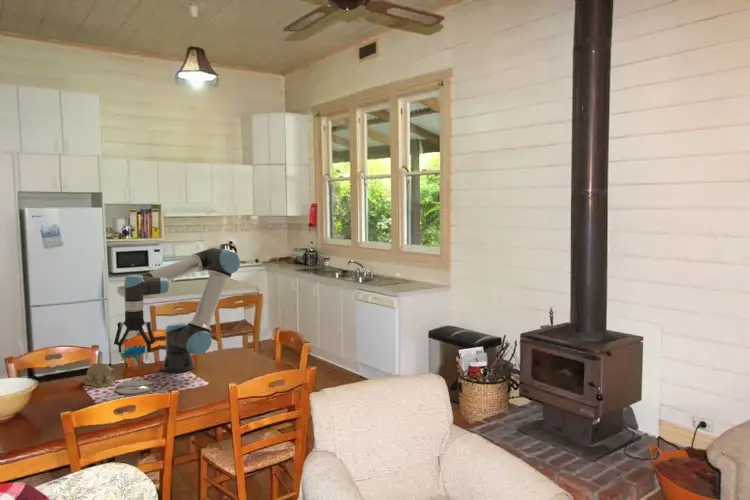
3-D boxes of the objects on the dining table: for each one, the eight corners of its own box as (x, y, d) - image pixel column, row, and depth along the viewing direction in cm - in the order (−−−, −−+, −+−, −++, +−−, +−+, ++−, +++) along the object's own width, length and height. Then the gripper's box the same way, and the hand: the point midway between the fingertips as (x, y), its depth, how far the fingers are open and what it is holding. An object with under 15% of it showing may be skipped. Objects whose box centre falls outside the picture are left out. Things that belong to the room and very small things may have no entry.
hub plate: (120, 383, 257) (120, 381, 257) (157, 382, 260) (157, 379, 260) (111, 395, 242) (111, 392, 241) (150, 393, 244) (150, 391, 244)
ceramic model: (120, 380, 263) (120, 359, 262) (107, 388, 251) (106, 366, 251) (92, 378, 264) (92, 358, 263) (77, 386, 253) (77, 364, 252)
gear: (145, 352, 256) (146, 341, 249) (148, 363, 253) (149, 352, 246) (119, 359, 250) (119, 347, 243) (122, 370, 247) (123, 358, 240)
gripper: (105, 311, 242) (106, 362, 244) (158, 311, 246) (159, 360, 248) (110, 308, 250) (110, 357, 251) (161, 308, 254) (162, 356, 256)
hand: (134, 359), depth 250 cm, fingers closed on gear, 9 cm apart
